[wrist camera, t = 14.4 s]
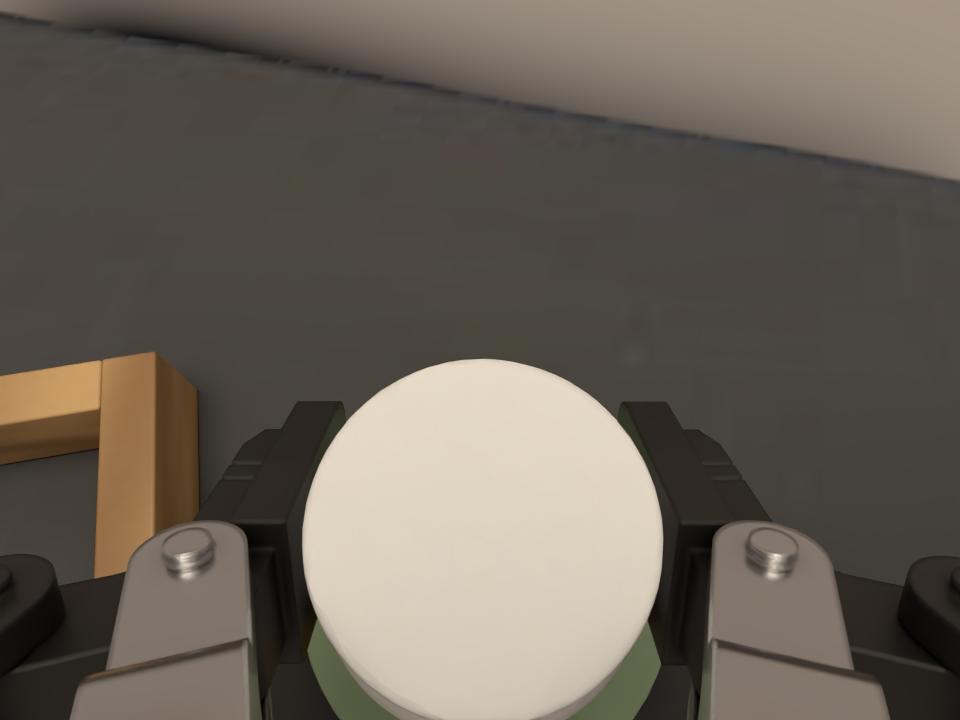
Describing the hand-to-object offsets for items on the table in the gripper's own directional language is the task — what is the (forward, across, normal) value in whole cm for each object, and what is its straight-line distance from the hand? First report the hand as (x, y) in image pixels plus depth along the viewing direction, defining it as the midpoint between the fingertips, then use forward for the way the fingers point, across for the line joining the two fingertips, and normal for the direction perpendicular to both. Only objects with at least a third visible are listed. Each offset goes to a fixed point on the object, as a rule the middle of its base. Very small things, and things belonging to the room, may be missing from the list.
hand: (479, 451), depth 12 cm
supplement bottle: (+2, 0, +5) cm, 5 cm away
